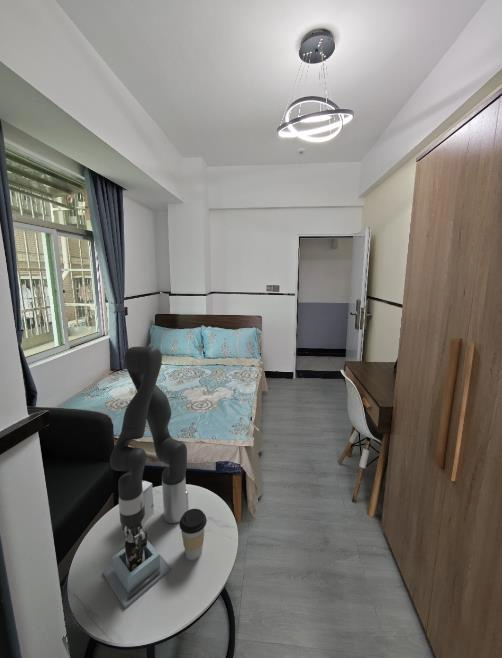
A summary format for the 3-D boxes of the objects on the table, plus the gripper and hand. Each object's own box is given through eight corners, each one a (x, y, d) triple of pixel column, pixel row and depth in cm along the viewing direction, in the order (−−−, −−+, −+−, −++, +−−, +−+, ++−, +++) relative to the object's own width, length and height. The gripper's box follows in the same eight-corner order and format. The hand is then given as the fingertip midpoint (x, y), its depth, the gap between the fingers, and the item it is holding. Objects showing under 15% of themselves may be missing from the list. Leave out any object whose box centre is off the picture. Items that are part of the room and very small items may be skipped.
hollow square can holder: (146, 541, 109) (145, 526, 108) (171, 569, 99) (170, 553, 98) (102, 573, 98) (101, 557, 97) (125, 609, 87) (123, 591, 86)
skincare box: (140, 529, 115) (137, 496, 112) (128, 524, 117) (126, 492, 114) (154, 514, 122) (153, 482, 120) (143, 509, 125) (141, 478, 122)
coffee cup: (175, 554, 105) (173, 518, 102) (196, 536, 112) (194, 502, 109) (192, 571, 99) (190, 533, 96) (212, 551, 106) (212, 516, 103)
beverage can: (126, 577, 94) (123, 545, 92) (127, 560, 100) (125, 530, 98) (144, 571, 96) (142, 540, 94) (145, 555, 101) (143, 526, 99)
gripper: (154, 510, 92) (156, 555, 95) (132, 488, 101) (135, 529, 104) (131, 524, 86) (134, 572, 89) (110, 500, 96) (114, 543, 99)
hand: (135, 549), depth 97 cm, fingers closed on beverage can, 5 cm apart
